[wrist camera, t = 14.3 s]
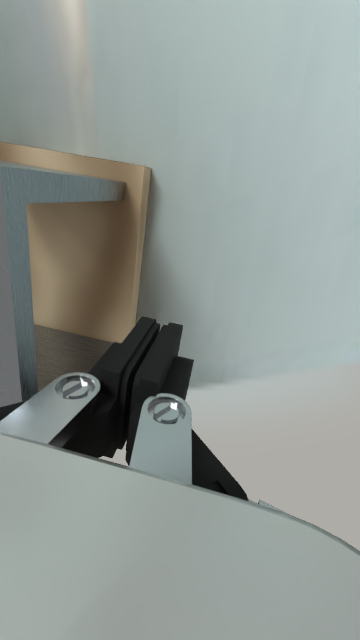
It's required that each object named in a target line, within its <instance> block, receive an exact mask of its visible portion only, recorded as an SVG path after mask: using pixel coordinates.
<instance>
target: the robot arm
mask: <svg viewBox="0 0 360 640" xmlns="http://www.w3.org/2000/svg"><path fill="white" fill-rule="evenodd" d="M182 328H183V325H179V324H174V323H169V324H168V326H167V325H163V327H162V328H161V330H160V324H158V323H156V319H151V318H147V317H142V318H141V319H140V320H139V321H138V323H137V324H136V325H135V326H134V328H133V329H132V330H131V332H130V333H129V334H128V335H127V337H126V338H125V339H124V341H123V342H122V343H118V342H114V343H113V344H112V345H111V346H110V347H109V349H108V350H107V351H106V352H105V353H104V355H103V356H102V357H101V358H100V359H99V361H98V362H97V363H96V364H95V365H94V366H93V368H92V369H91V370H90V371H89V372H88V374H87V373H79V372H75V373H68V374H65V375H62V376H60V377H58V378H57V379H55V380H54V381H52V382H51V383H50V384H48V385H47V386H46V387H45V388H43V389H42V390H41V391H39V392H38V393H37V394H35V395H34V396H33V397H31V398H30V399H29V400H27V401H23V402H19V403H15V404H11V405H7V406H3V407H0V640H360V551H359V550H357V549H356V548H354V547H353V546H351V545H349V544H348V543H346V542H345V541H343V540H342V539H340V538H338V537H336V536H334V535H332V534H331V533H329V532H327V531H325V530H323V529H321V528H319V527H317V526H315V525H313V524H311V523H308V522H306V521H303V520H301V519H299V518H296V517H294V516H291V515H289V514H287V513H285V512H283V511H281V510H279V509H277V508H275V507H273V506H271V505H269V504H267V503H265V502H263V501H261V500H259V502H258V504H257V503H255V502H253V501H251V500H249V499H248V498H247V495H246V493H245V492H244V490H243V489H242V487H241V486H240V485H239V484H238V482H237V481H236V480H235V479H234V478H233V477H232V476H231V474H230V473H229V472H228V471H227V470H226V468H225V467H224V466H223V465H222V464H221V463H220V461H219V460H218V459H217V458H216V457H215V455H213V453H212V452H211V451H210V450H209V449H208V447H207V446H206V445H205V444H204V443H203V441H202V440H201V439H200V438H199V437H198V436H197V434H196V433H195V432H194V431H193V430H192V429H191V410H190V407H189V405H188V404H187V402H185V398H186V394H187V390H188V385H189V381H190V376H191V371H192V367H193V361H194V360H191V359H187V358H183V357H178V351H179V345H180V340H181V334H182ZM159 331H160V332H159ZM126 440H127V444H126V462H127V463H128V465H129V467H127V466H124V465H121V464H117V463H113V462H109V461H106V460H102V459H99V457H101V456H106V457H109V458H113V456H114V454H115V451H116V449H122V448H123V446H124V444H125V442H126Z"/></svg>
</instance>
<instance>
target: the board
mask: <svg viewBox="0 0 360 640" xmlns="http://www.w3.org/2000/svg"><path fill="white" fill-rule="evenodd" d="M0 161H7V162H13V163H19V164H25V165H31V166H37V167H42V168H48V169H54V170H59V171H65V172H71V173H76V174H82V175H88V176H94V177H99V178H105V179H111V180H116V181H122V182H126V187H125V200H118V201H88V202H58V203H28V204H26V205H27V221H28V237H29V253H30V269H31V285H32V301H33V317H34V324H35V325H40V326H44V327H48V328H52V329H57V330H61V331H65V332H70V333H74V334H78V335H82V336H87V337H91V338H95V339H100V340H104V341H108V342H112V343H114V342H118V343H122V342H123V341H124V339H125V338H126V337H127V335H128V334H129V333H130V332H131V330H132V329H133V328H134V326H135V323H136V313H137V304H138V294H139V284H140V274H141V265H142V255H143V245H144V235H145V225H146V216H147V206H148V196H149V186H150V176H151V168H149V167H146V166H141V165H135V164H129V163H123V162H117V161H111V160H105V159H99V158H93V157H87V156H81V155H76V154H70V153H64V152H58V151H52V150H46V149H40V148H34V147H28V146H22V145H16V144H10V143H4V142H0Z"/></svg>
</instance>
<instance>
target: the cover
mask: <svg viewBox="0 0 360 640" xmlns="http://www.w3.org/2000/svg"><path fill="white" fill-rule="evenodd" d="M125 187H126V182H122V181H116V180H111V179H105V178H99V177H94V176H88V175H82V174H76V173H71V172H65V171H59V170H54V169H48V168H42V167H37V166H31V165H25V164H19V163H13V162H7V161H0V407H3V406H7V405H11V404H15V403H19V402H23V401H27V400H29V399H30V398H31V397H33V396H34V395H35V394H37V393H38V392H39V391H41V390H42V389H43V388H45V387H46V386H47V385H48V384H50V383H51V382H52V381H54V380H55V379H57V378H58V377H60V376H62V375H65V374H68V373H75V372H79V373H87V374H88V372H89V371H90V370H91V369H92V368H93V366H94V365H95V364H96V363H97V362H98V361H99V359H100V358H101V357H102V356H103V355H104V353H105V352H106V351H107V350H108V349H109V347H110V346H111V345H112V344H113V343H112V342H108V341H104V340H100V339H95V338H91V337H87V336H82V335H78V334H74V333H70V332H65V331H61V330H57V329H52V328H48V327H44V326H40V325H35V324H34V317H33V301H32V285H31V269H30V253H29V237H28V221H27V205H26V204H28V203H58V202H88V201H118V200H125Z"/></svg>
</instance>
